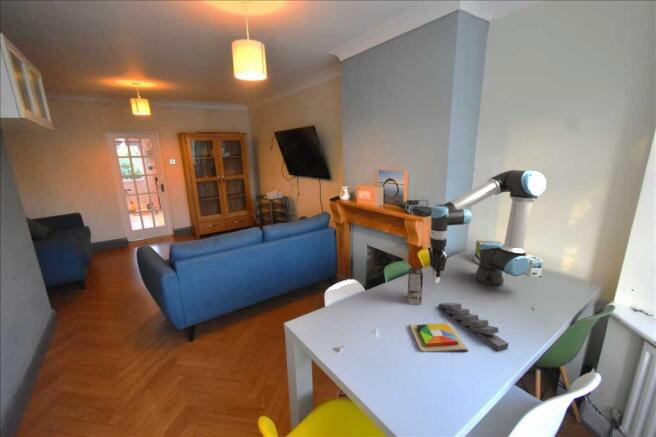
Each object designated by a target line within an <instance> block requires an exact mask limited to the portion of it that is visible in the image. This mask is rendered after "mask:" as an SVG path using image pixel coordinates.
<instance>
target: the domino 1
mask: <svg viewBox="0 0 656 437" xmlns="http://www.w3.org/2000/svg"><path fill="white" fill-rule="evenodd" d="M438 307H439V308H440V309H458V308H462V303H457V302H442V303H441V302H440V303H438Z"/></svg>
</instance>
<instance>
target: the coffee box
mask: <svg viewBox="0 0 656 437" xmlns="http://www.w3.org/2000/svg"><path fill="white" fill-rule="evenodd" d="M422 270H423V269H422V268H421V267H420V268H419V267H408V273H407V274H408V277H407V281H408V282H407V301H408V304H410V305H422V296H423V285H424V284H423V282H424V281H423V280H424V274H423V271H422Z"/></svg>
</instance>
